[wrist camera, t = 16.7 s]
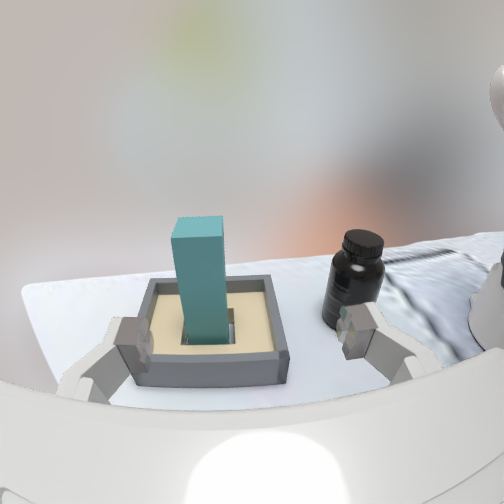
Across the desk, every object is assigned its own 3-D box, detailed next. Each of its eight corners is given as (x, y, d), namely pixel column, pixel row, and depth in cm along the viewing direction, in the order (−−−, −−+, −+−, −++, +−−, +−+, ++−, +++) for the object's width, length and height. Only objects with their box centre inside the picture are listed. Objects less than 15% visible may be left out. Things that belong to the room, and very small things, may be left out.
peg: (228, 327, 35) (222, 215, 28) (229, 353, 31) (222, 236, 24) (194, 328, 35) (178, 217, 27) (191, 354, 31) (170, 238, 23)
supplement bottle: (375, 332, 33) (402, 252, 28) (326, 336, 33) (345, 252, 27) (360, 299, 39) (379, 225, 33) (317, 301, 39) (329, 224, 33)
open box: (268, 300, 40) (270, 274, 37) (285, 383, 27) (290, 357, 25) (156, 304, 38) (150, 278, 36) (137, 385, 26) (124, 360, 24)
